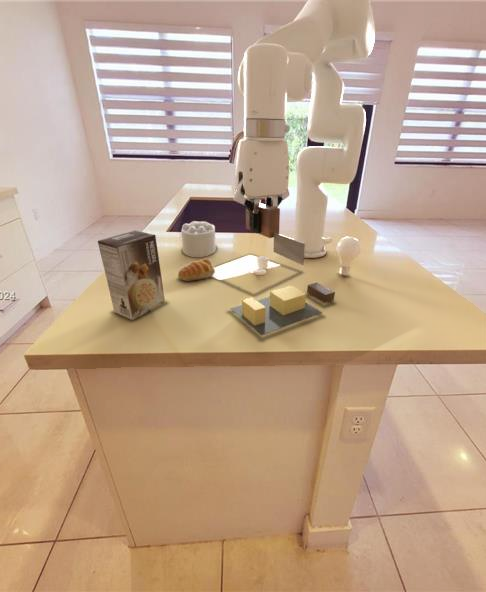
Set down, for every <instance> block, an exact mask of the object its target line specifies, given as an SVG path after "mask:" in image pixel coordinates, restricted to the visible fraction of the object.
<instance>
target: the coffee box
mask: <svg viewBox="0 0 486 592" xmlns="http://www.w3.org/2000/svg"><path fill="white" fill-rule="evenodd" d="M97 244H98V249H99V253H100V257H101V261H102V266H103V270H104V274H105V279H106V282H107V287H108V291H109V296H110V299H111V304H112V308H113V312H114V313H116V314H118V315H121V316H122V317H125V318H126V319H129V320H132V321H135V320H136V319H138V318H140V317H141V316H143V315H145V314H147V313H149V312H151V310H150V308H152V307H154V306H156V305H158V304H160V303H162V302H164V301H165V299H166V298H165V293H164V292H165V291H164V285H163V279H162V271H161V265H160V257H159V249H158V243H157V236H156V234H152V233H148V232H146V231H145V232H144V231H140V230H132V231H129V232H124V233H121V234H118V235H114V236H110V237H106V238H103V239H100V240H99V239H98V240H97Z"/></svg>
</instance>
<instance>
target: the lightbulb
mask: <svg viewBox="0 0 486 592" xmlns="http://www.w3.org/2000/svg"><path fill="white" fill-rule="evenodd" d="M361 250H362V246H361V242H360V241H359V240H358V239H357V238H355V237H354V236H344V237H342V238H341V239H340V240H338V241H337V244H336V247H335V252H336V255H337V257H338V259H339V273H338V274H340V276H342V277H345V276H349V275H350V271H351V266H352V265H353V263H354V261H355V260H356V259H357V258H358V257H359V255H360V253H361Z"/></svg>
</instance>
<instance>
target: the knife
mask: <svg viewBox="0 0 486 592" xmlns="http://www.w3.org/2000/svg"><path fill="white" fill-rule="evenodd" d="M259 213H260V214H261V232H260V233H257V234H258V235H261V236H263V237H266V238H268V239H272V238H273V253H275V254H277V255H279V256H282V257H284V258H286V259H288V260H290V261H292V262H295V263H296V264H299V265H301V266H304V264H305V263H304V262H305V258H304V250H305V243H302V242H300V241H297V240H294V239H293V237H292V238H291V237H288V236H287V235H284V234H280V222H281V219H280V218H281V208H279V207H278V208H276V207H272V206H268V205H265V203H261V202H260V204H259ZM245 229H246V230H248V231H251V230H250V226H249V211H247V209H246V208H245Z"/></svg>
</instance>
